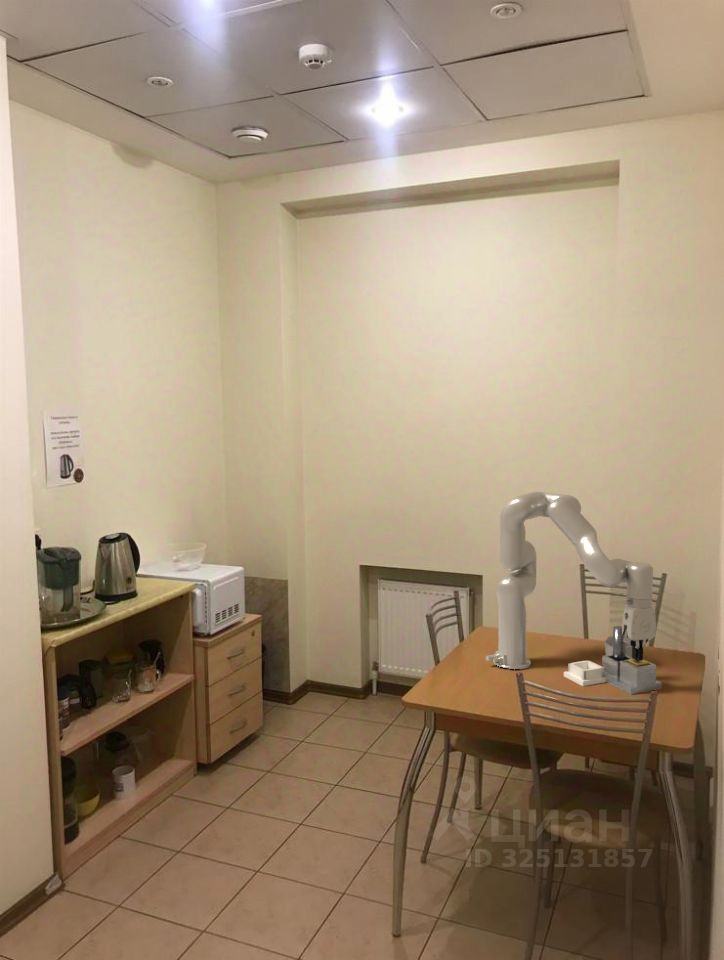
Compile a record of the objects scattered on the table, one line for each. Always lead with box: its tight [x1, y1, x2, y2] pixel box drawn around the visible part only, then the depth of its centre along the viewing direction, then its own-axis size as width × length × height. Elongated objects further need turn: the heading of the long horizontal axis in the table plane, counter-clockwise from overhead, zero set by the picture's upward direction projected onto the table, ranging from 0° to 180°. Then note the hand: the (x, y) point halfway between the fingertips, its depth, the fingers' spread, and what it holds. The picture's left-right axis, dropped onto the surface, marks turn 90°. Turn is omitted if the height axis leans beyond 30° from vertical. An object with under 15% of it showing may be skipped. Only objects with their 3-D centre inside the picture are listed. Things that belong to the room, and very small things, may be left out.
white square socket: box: [563, 659, 606, 687], centre depth 253 cm, size 10×10×4 cm
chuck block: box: [601, 654, 663, 695], centre depth 249 cm, size 12×17×8 cm
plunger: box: [628, 658, 650, 667], centre depth 244 cm, size 4×4×6 cm
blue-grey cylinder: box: [612, 625, 626, 661], centre depth 252 cm, size 4×4×15 cm
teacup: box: [604, 635, 632, 658], centre depth 268 cm, size 14×11×8 cm
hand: (637, 659), depth 244 cm, fingers closed
